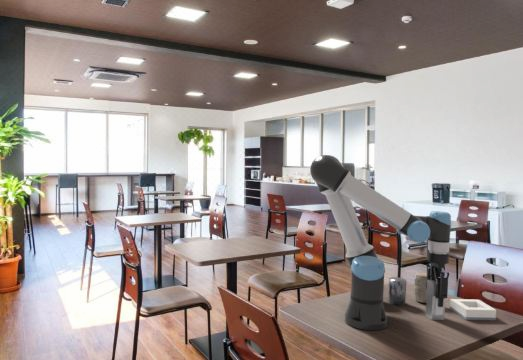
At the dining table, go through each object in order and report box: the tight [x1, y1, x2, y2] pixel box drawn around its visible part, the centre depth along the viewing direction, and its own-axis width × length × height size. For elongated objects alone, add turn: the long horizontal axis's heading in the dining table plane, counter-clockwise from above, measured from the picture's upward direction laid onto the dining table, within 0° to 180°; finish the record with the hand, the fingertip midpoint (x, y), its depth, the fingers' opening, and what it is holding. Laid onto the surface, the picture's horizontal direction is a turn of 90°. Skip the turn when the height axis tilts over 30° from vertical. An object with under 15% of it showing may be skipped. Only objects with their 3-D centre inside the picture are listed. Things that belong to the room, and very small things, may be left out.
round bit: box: [387, 276, 407, 307], centre depth 176 cm, size 7×7×10 cm
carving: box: [413, 272, 427, 304], centre depth 179 cm, size 6×8×12 cm
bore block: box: [449, 298, 497, 321], centre depth 166 cm, size 12×12×4 cm
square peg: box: [425, 280, 447, 321], centre depth 161 cm, size 5×5×14 cm
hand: (435, 311), depth 161 cm, fingers closed on square peg, 5 cm apart
